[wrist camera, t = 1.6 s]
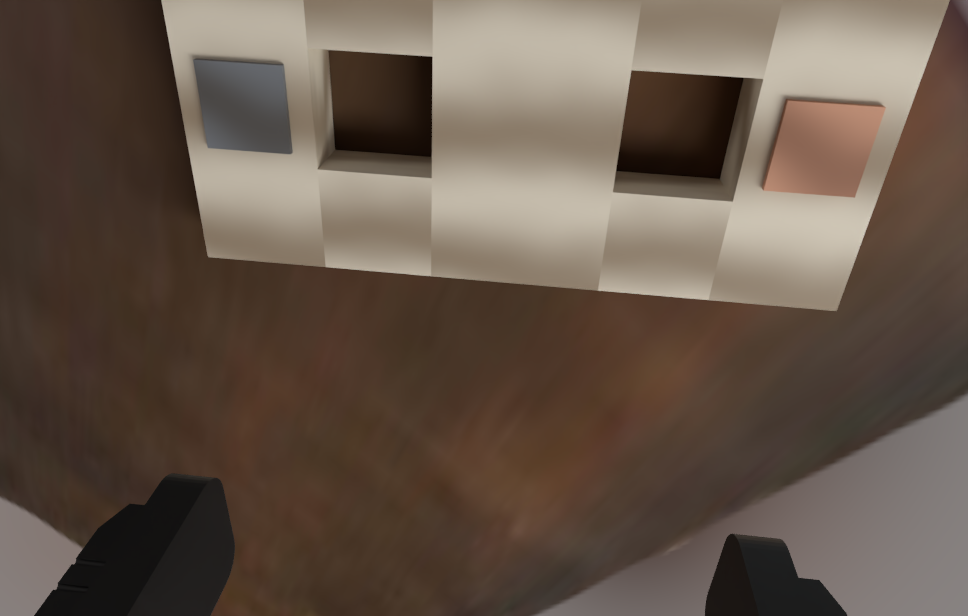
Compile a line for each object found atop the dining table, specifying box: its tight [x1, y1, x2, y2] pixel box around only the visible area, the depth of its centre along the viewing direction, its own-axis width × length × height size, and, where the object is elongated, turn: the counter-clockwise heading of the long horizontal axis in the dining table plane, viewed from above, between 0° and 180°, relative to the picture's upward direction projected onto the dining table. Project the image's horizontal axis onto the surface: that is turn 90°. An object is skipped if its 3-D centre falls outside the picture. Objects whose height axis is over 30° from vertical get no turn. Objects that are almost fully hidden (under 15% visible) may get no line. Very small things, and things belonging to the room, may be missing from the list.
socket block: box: [161, 0, 950, 311], centre depth 32 cm, size 16×32×3 cm, turn 87°
